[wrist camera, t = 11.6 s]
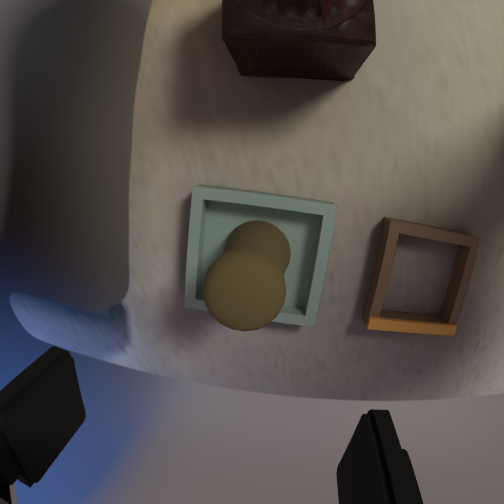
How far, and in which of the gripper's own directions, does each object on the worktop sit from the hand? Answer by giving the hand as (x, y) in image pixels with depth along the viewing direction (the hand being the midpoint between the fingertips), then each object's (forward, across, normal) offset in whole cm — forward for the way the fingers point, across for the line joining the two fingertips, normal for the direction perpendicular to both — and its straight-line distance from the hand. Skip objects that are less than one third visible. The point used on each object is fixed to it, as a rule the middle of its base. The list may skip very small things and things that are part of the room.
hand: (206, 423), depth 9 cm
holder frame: (+22, -16, 0) cm, 27 cm away
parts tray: (+22, 0, 0) cm, 22 cm away
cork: (+21, 0, 0) cm, 21 cm away
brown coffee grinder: (+22, -1, -24) cm, 32 cm away
